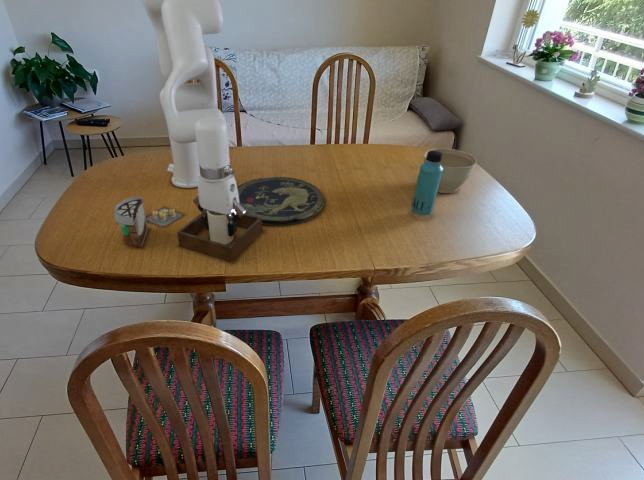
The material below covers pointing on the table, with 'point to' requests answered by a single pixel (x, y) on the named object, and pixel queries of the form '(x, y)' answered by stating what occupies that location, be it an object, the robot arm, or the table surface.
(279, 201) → the decorative plate
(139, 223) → the food container
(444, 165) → the planter bowl
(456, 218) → the table surface
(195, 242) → the wooden box
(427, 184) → the beverage bottle
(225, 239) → the cup
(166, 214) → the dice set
